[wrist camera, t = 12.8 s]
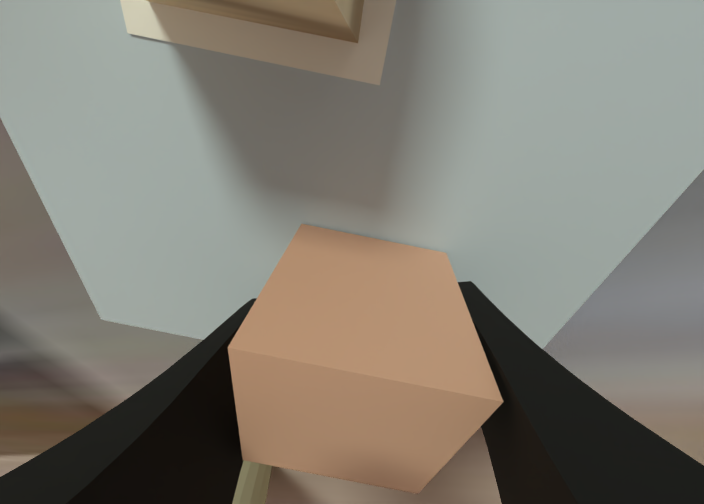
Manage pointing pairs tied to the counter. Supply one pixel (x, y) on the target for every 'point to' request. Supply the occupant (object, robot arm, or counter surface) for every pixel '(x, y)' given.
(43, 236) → the counter surface
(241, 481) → the reusable coffee cup
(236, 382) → the terracotta block
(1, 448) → the counter surface
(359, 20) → the maple block
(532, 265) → the pale blue flat sheet
